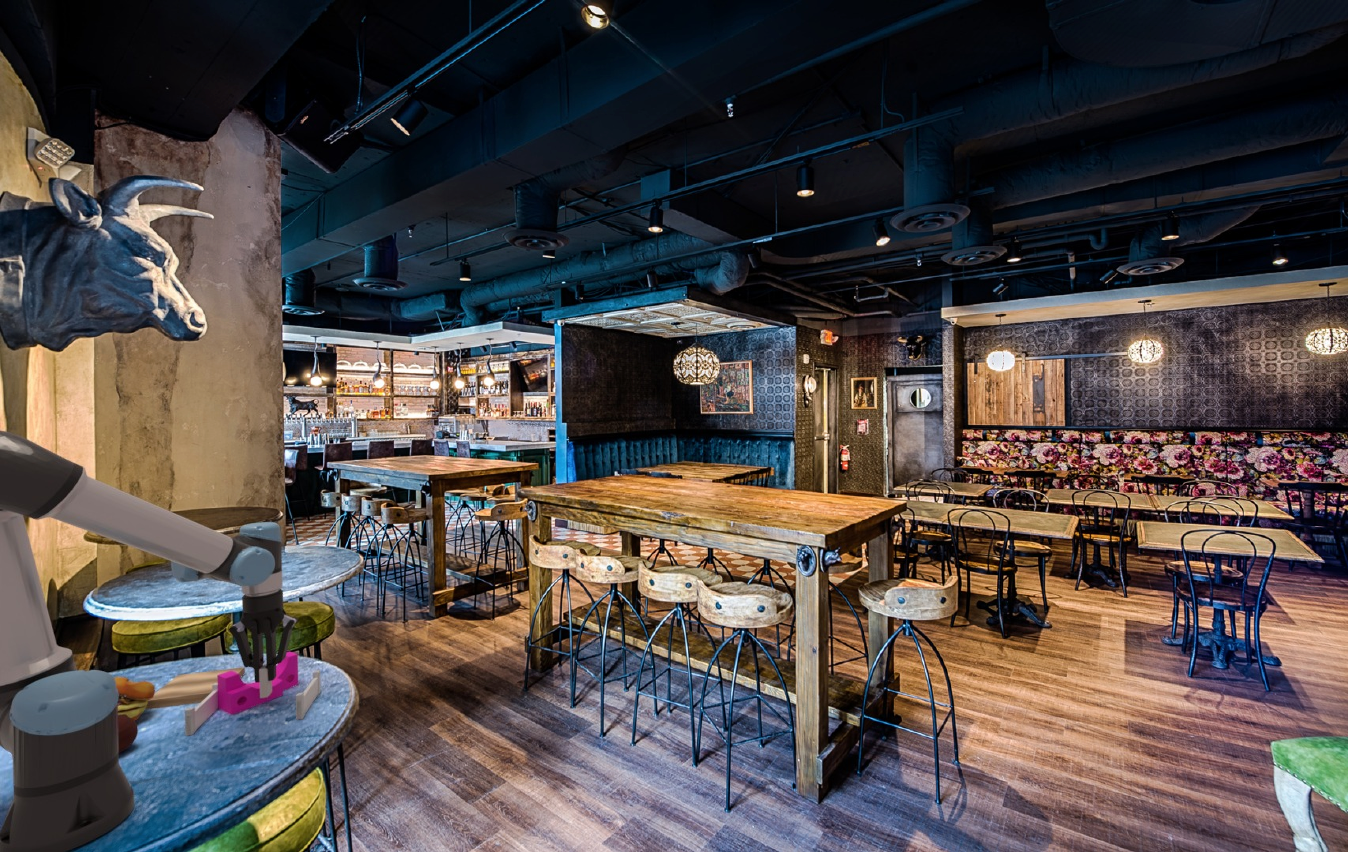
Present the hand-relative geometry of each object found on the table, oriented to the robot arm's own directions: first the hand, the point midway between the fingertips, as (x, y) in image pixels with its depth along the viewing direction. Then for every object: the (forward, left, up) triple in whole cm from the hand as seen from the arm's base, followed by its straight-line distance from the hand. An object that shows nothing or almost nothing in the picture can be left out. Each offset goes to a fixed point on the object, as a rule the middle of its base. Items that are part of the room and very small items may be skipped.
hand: (266, 694), depth 131 cm
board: (+13, +18, -2) cm, 23 cm away
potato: (-13, +21, -2) cm, 25 cm away
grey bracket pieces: (-4, 0, -2) cm, 4 cm away
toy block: (+4, +2, -2) cm, 5 cm away
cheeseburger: (-1, +28, -2) cm, 29 cm away
